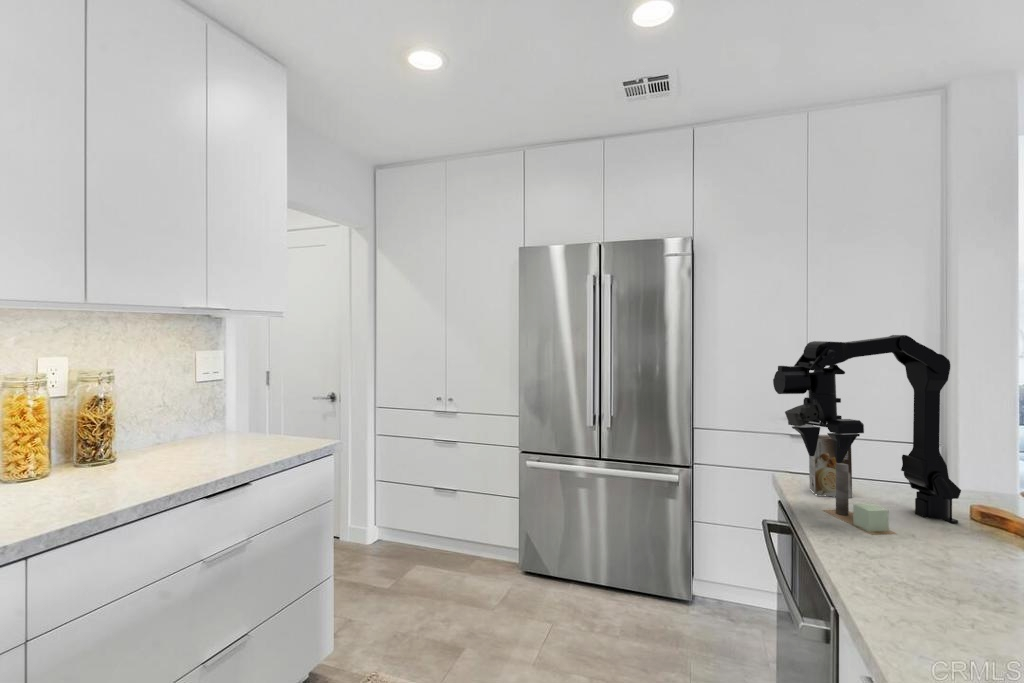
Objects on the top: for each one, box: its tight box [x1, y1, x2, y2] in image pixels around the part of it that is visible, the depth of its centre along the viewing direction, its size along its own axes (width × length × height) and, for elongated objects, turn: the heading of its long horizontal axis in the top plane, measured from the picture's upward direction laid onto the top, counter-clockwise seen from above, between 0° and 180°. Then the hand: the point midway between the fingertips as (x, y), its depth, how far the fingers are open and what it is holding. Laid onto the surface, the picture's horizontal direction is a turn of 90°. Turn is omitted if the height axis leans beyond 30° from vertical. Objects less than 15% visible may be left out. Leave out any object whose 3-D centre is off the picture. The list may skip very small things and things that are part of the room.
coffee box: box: [808, 434, 853, 499], centre depth 144 cm, size 9×6×16 cm
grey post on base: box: [822, 463, 898, 536], centre depth 120 cm, size 6×16×13 cm, turn 4°
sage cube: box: [852, 503, 890, 532], centre depth 116 cm, size 5×5×5 cm
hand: (824, 459), depth 123 cm, fingers open, 9 cm apart
